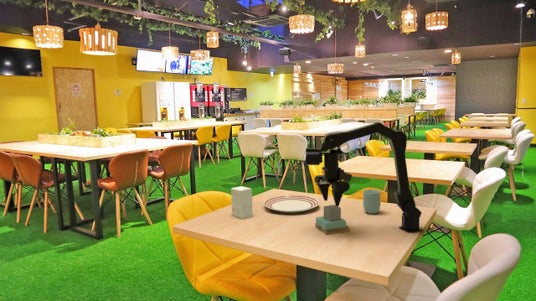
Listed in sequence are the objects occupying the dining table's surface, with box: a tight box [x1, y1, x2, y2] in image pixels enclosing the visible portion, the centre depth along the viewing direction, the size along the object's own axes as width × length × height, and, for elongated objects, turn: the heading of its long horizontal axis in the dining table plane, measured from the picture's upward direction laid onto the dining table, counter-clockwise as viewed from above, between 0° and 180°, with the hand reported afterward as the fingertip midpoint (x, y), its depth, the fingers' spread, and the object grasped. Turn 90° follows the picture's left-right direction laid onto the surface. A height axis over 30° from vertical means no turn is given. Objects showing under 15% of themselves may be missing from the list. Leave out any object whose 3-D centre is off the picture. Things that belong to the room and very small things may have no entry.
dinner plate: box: [263, 194, 320, 214], centre depth 188 cm, size 28×27×3 cm
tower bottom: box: [314, 222, 350, 235], centre depth 154 cm, size 10×10×2 cm
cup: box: [362, 189, 382, 215], centre depth 175 cm, size 8×8×10 cm
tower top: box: [315, 215, 347, 230], centre depth 153 cm, size 9×9×2 cm
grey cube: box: [323, 204, 342, 221], centre depth 153 cm, size 5×5×5 cm
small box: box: [230, 185, 254, 219], centre depth 175 cm, size 8×6×13 cm
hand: (331, 203), depth 152 cm, fingers open, 9 cm apart
